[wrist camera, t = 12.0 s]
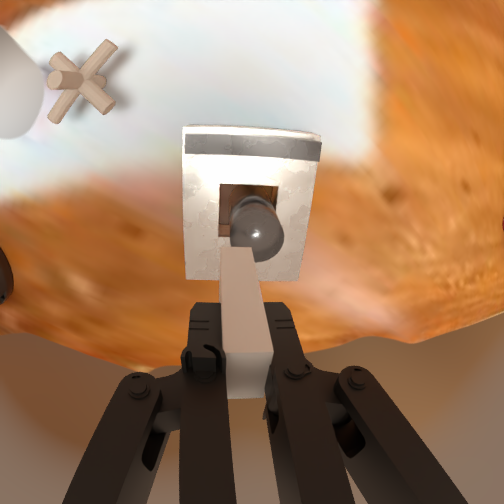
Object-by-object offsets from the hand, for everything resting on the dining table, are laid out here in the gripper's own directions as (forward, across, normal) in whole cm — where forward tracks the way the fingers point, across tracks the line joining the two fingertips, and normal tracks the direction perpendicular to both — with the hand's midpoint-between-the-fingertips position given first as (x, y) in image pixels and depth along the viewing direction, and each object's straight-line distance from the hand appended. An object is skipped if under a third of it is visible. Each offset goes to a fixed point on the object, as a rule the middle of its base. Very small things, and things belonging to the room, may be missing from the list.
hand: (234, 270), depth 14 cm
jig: (+20, +2, -3) cm, 21 cm away
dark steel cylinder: (+20, +3, -3) cm, 21 cm away
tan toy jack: (+21, -16, +12) cm, 28 cm away
